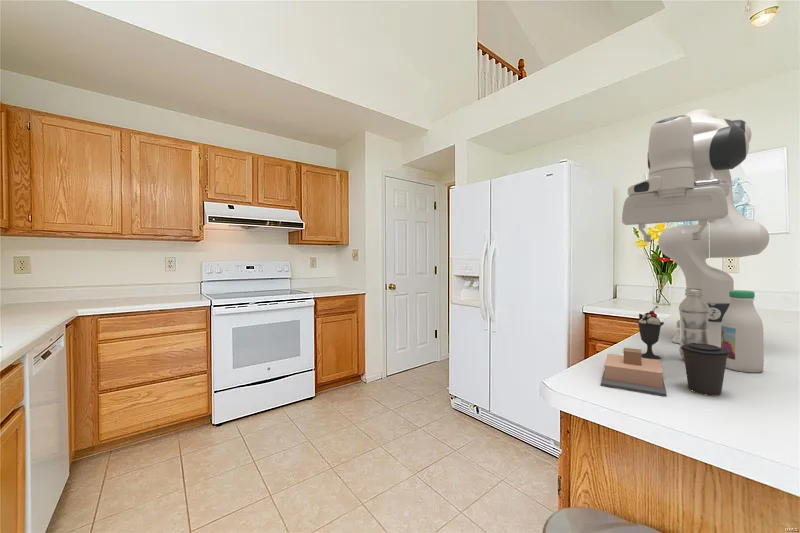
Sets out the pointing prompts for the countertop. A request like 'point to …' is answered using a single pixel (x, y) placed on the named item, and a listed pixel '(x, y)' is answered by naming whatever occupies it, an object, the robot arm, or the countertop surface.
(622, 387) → the mat
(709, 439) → the countertop surface
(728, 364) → the milk bottle
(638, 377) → the cover
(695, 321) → the plastic bottle
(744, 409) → the countertop surface
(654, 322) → the sundae
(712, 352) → the coffee cup
